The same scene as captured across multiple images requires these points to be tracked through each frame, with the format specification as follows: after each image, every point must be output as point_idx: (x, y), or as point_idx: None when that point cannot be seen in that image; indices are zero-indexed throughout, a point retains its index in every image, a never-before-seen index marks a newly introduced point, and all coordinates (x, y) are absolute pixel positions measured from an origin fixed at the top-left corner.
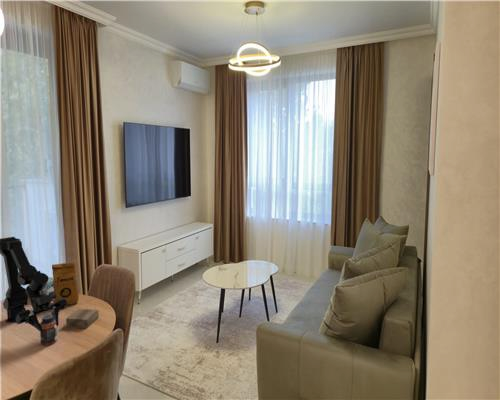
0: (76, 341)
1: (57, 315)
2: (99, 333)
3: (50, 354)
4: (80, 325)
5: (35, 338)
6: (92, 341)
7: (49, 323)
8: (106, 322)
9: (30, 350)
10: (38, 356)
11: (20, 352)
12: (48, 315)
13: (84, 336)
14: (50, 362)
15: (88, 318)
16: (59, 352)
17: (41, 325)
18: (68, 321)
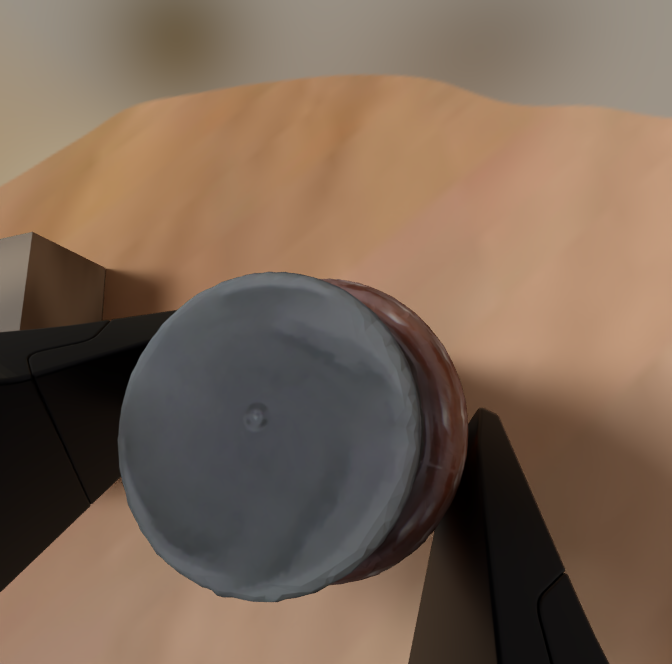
0: (301, 204)
1: (82, 333)
2: (174, 138)
3: (535, 251)
4: (84, 320)
5: (325, 627)
6: (281, 105)
7: (375, 312)
8: (28, 199)
9: (544, 492)
10: (604, 326)
11: (618, 579)
12: (164, 465)
13: (225, 202)
14: (639, 160)
15: (10, 239)
16: (482, 206)
17: (463, 458)
18: None
